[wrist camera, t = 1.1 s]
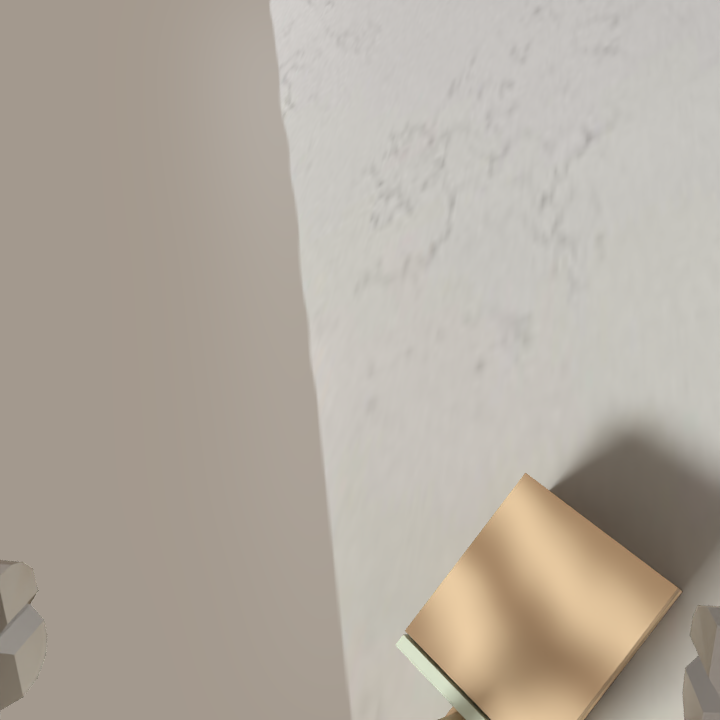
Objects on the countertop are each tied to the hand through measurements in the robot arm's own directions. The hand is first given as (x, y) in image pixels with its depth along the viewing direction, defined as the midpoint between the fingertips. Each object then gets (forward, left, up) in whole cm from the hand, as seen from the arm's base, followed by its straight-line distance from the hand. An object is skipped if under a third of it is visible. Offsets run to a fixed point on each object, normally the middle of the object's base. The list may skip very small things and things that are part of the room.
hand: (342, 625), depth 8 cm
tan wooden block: (+3, -4, -40) cm, 41 cm away
